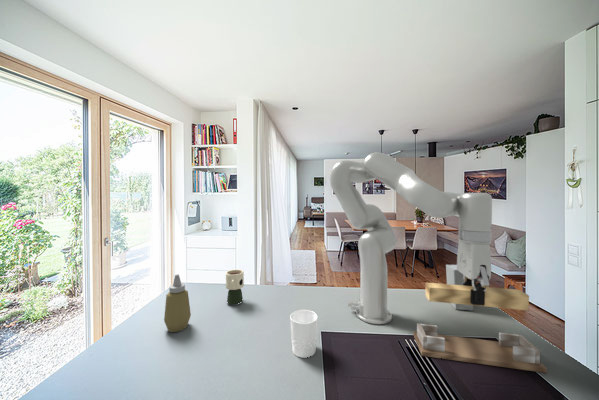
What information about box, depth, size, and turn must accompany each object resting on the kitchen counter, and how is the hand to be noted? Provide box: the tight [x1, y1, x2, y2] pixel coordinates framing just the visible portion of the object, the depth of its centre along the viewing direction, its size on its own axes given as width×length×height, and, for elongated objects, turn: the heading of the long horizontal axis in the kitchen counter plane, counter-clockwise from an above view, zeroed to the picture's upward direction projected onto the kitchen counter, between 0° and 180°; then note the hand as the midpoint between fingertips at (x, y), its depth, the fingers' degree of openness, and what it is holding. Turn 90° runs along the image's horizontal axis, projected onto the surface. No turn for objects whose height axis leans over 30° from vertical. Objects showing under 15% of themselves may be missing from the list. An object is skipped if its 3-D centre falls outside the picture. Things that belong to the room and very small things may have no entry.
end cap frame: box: [412, 323, 548, 374], centre depth 69 cm, size 29×10×5 cm, turn 77°
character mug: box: [225, 269, 245, 305], centre depth 100 cm, size 11×7×13 cm, turn 6°
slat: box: [425, 282, 530, 311], centre depth 69 cm, size 24×4×4 cm, turn 77°
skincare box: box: [445, 264, 474, 311], centre depth 97 cm, size 8×7×16 cm
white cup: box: [289, 309, 319, 359], centre depth 70 cm, size 8×8×10 cm
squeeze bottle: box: [163, 273, 192, 333], centre depth 82 cm, size 8×8×18 cm
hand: (473, 300), depth 69 cm, fingers closed on slat, 4 cm apart
